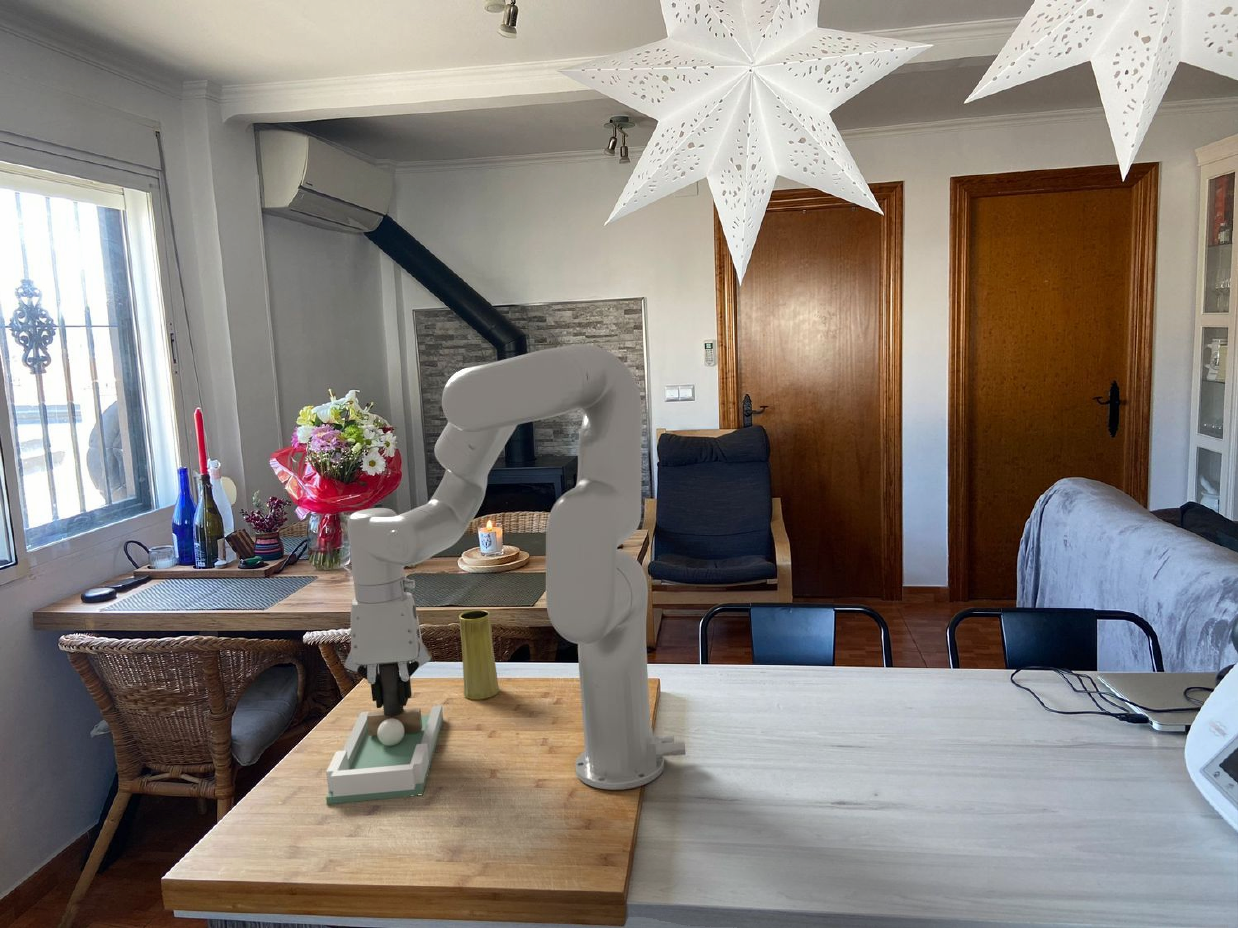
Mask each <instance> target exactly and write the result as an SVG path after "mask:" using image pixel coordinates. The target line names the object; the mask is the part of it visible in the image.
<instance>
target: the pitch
mask: <svg viewBox="0 0 1238 928" xmlns="http://www.w3.org/2000/svg"><path fill="white" fill-rule="evenodd" d="M369 712H371V711H362V712H360V713H359V716H358V717H357V719H356V722H355V724H354V726H353V728H352V730H351V731H350V734H349V736H348V739H347V740H346V743H345V744H344V746H343V750H338V751H337V750H336V752H335V753H334V755H333V757H332V759H331V761H330V763H329V765H328V767H327V769H326V771H325V772H326V781H327V789H328V792H327V794H326V796H325V800H326V801H325V802H326V805H331V804H333V805H334V804H342V803H344V804H345V803H354V802H355V803H356V802H365V801H366V800H367V801H375V800H374V799H378V800H388V798H389V799H398V798H397V797H400V798H405V797H404V796H411V795H418V794H424V792H423V790H424V791H425V788H424V786H425V787H426V784H427V781H426V779H427V780H428V777H427V775H429V773H428V771H429V772H430V770H429V768H430V769H431V766H430V764H431V765H432V762H433V759H432V757H433V758H434V755H433V754H434V753H435V752H436V748H435V747H437V744H436V743H438V741H437V740H439V737H440V733H441V730H440V729H441V728H442V726H443V723H444V722H443V721H444V713H443V705H442V704H441V705H440V704H439V705H432V706H431V711H430V713H429V714H426V715H425V714H424V715H421V718H422V730H421V731H419V732H408V733H404V736H403V738H402V740H401V741H400V742H399V743H398V744H396V745H393V746H387V745H384V744H383V743H381V742H380V740H379V738H378V735H373V736H369V730H368V721H367V715H368V713H369ZM431 761H432V762H431ZM425 783H426V784H425ZM393 797H395V798H393ZM411 797H412V796H411ZM372 799H373V800H372ZM367 801H366V802H367Z"/></svg>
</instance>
